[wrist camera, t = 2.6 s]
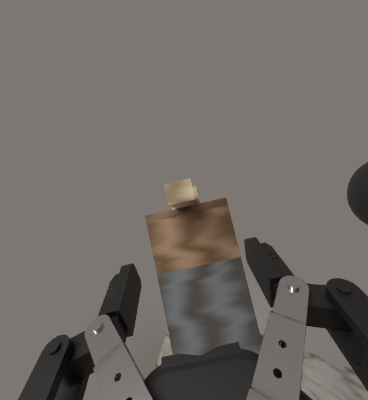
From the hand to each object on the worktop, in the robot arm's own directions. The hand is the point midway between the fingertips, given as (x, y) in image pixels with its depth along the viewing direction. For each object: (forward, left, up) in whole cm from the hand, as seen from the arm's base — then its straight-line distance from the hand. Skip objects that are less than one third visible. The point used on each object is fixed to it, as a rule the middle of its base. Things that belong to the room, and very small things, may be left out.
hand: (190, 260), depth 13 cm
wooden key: (0, -17, +5) cm, 18 cm away
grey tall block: (0, -23, -28) cm, 37 cm away
